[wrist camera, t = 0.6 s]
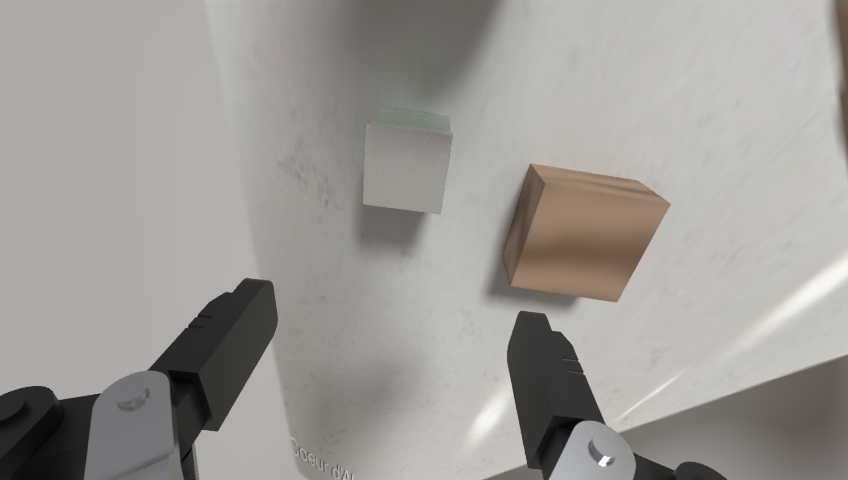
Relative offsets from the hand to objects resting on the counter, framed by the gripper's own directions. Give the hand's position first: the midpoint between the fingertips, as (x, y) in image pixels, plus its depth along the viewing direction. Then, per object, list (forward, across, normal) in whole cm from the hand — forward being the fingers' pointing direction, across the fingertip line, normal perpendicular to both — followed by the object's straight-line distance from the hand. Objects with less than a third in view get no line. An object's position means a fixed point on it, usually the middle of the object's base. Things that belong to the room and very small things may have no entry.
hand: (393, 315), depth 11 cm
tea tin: (+19, +1, -1) cm, 19 cm away
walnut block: (+20, -13, +5) cm, 24 cm away
